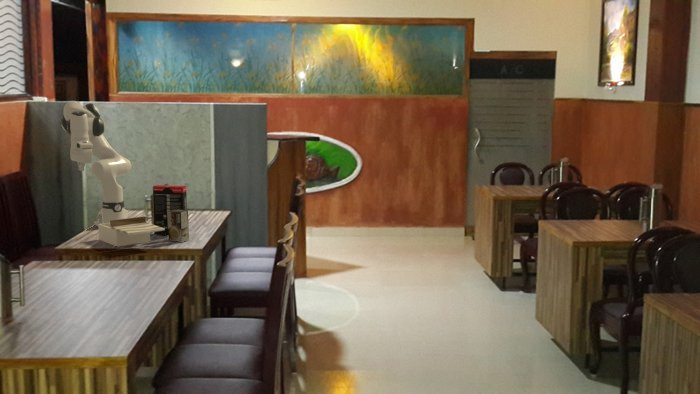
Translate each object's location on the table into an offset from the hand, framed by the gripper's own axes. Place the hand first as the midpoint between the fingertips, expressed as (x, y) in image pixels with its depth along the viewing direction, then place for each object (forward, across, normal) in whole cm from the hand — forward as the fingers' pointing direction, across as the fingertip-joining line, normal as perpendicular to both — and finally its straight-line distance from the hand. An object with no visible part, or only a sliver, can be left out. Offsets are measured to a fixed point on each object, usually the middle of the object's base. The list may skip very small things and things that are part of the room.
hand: (81, 170), depth 378 cm
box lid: (+28, +31, +15) cm, 44 cm away
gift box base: (+37, +15, +15) cm, 43 cm away
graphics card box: (+37, +14, +42) cm, 58 cm away
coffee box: (+37, +30, +38) cm, 61 cm away
